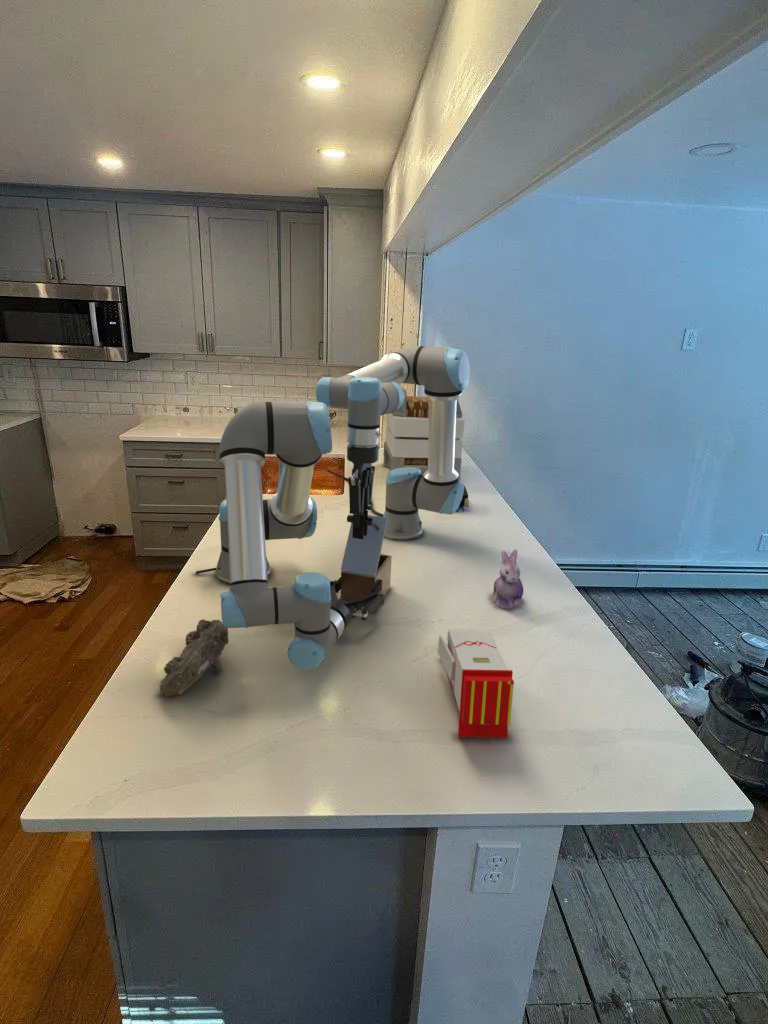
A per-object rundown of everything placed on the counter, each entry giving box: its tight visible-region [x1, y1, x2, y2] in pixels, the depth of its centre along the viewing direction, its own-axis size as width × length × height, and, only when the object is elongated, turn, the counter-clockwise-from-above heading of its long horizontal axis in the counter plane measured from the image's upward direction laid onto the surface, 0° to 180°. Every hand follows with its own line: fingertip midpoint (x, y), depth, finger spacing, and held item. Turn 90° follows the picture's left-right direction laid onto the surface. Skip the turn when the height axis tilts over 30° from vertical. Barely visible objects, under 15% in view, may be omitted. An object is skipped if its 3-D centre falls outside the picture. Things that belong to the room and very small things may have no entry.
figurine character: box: [455, 485, 470, 512], centre depth 229 cm, size 7×8×15 cm
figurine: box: [492, 548, 524, 609], centre depth 154 cm, size 9×10×15 cm
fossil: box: [159, 619, 229, 697], centre depth 120 cm, size 22×10×15 cm
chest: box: [340, 553, 393, 614], centre depth 154 cm, size 15×9×10 cm, turn 163°
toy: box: [437, 628, 515, 738], centre depth 117 cm, size 12×13×30 cm
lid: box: [340, 514, 388, 577], centre depth 143 cm, size 16×9×9 cm
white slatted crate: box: [383, 386, 465, 481], centre depth 268 cm, size 34×33×41 cm
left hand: (362, 581), depth 150 cm, fingers closed on chest, 9 cm apart
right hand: (359, 536), depth 143 cm, fingers closed on lid, 2 cm apart
